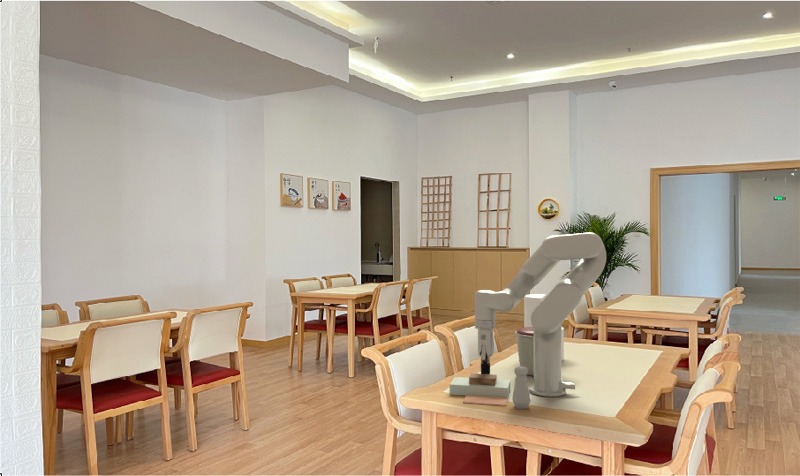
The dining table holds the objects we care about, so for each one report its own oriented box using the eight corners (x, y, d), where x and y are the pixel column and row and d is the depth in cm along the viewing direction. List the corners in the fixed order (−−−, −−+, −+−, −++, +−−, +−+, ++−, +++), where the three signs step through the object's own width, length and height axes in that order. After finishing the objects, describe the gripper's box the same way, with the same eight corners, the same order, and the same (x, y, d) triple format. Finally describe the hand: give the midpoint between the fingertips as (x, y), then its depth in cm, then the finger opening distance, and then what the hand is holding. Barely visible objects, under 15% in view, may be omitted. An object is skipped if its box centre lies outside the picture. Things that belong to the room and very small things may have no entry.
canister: (522, 366, 241) (522, 316, 241) (566, 371, 232) (565, 319, 232) (508, 375, 226) (508, 322, 225) (554, 381, 216) (554, 326, 216)
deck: (510, 389, 205) (510, 380, 205) (507, 398, 194) (507, 388, 194) (454, 386, 210) (454, 376, 210) (449, 394, 200) (449, 384, 200)
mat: (507, 398, 194) (507, 397, 194) (505, 406, 186) (505, 404, 186) (466, 395, 198) (466, 394, 198) (462, 403, 189) (462, 401, 189)
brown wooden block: (496, 381, 203) (496, 374, 203) (495, 385, 198) (494, 378, 198) (471, 379, 206) (471, 373, 206) (469, 384, 200) (469, 377, 200)
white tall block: (521, 360, 252) (521, 297, 252) (527, 353, 268) (527, 293, 268) (562, 363, 246) (561, 298, 246) (565, 355, 262) (565, 294, 262)
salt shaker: (533, 409, 182) (533, 368, 182) (517, 410, 181) (517, 369, 181) (524, 403, 188) (524, 364, 188) (509, 405, 186) (509, 365, 186)
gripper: (493, 327, 201) (493, 379, 201) (497, 321, 215) (497, 370, 215) (472, 326, 203) (472, 378, 203) (477, 320, 217) (478, 368, 217)
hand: (485, 374), depth 209 cm, fingers closed
